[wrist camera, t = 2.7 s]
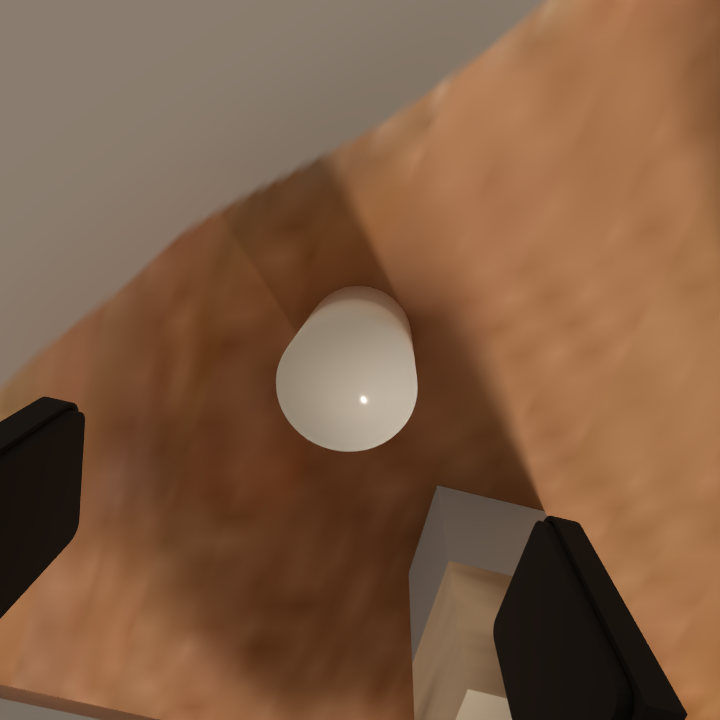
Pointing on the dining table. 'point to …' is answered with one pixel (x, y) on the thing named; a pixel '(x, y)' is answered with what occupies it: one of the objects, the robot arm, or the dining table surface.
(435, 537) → the tower base
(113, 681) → the dining table surface
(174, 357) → the dining table surface
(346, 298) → the cylinder
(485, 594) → the tower top
